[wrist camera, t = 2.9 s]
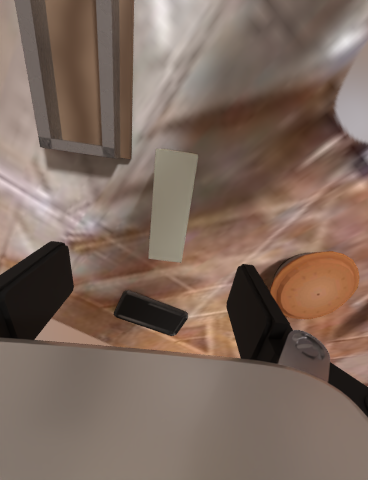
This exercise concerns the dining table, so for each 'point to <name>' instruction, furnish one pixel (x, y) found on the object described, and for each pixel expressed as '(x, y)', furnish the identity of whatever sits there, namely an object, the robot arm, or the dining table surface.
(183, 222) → the pale green block
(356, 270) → the pie
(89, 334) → the dining table surface
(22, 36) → the grey rectangular tray
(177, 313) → the phone
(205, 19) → the dining table surface
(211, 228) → the dining table surface
